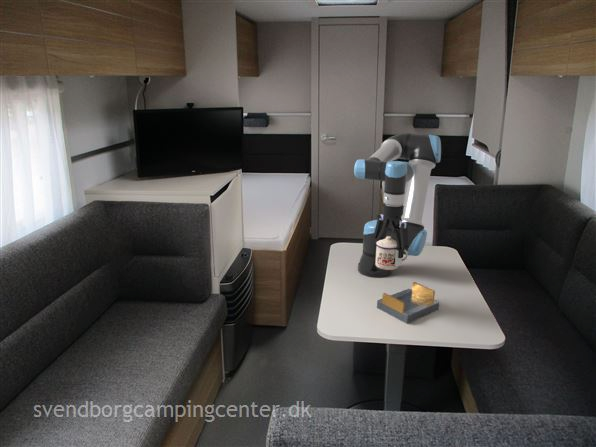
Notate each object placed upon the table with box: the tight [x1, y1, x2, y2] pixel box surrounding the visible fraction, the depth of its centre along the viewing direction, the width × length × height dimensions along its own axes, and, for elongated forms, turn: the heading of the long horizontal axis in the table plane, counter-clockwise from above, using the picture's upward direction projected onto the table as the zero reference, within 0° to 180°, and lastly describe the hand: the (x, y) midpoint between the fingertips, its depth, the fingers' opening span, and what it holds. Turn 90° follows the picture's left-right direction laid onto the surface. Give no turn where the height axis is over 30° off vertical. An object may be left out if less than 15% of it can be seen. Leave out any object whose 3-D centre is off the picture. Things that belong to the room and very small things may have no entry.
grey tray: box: [376, 281, 440, 324], centre depth 192 cm, size 15×18×7 cm
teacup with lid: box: [375, 236, 409, 271], centre depth 189 cm, size 12×9×12 cm
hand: (388, 261), depth 191 cm, fingers closed on teacup with lid, 9 cm apart
